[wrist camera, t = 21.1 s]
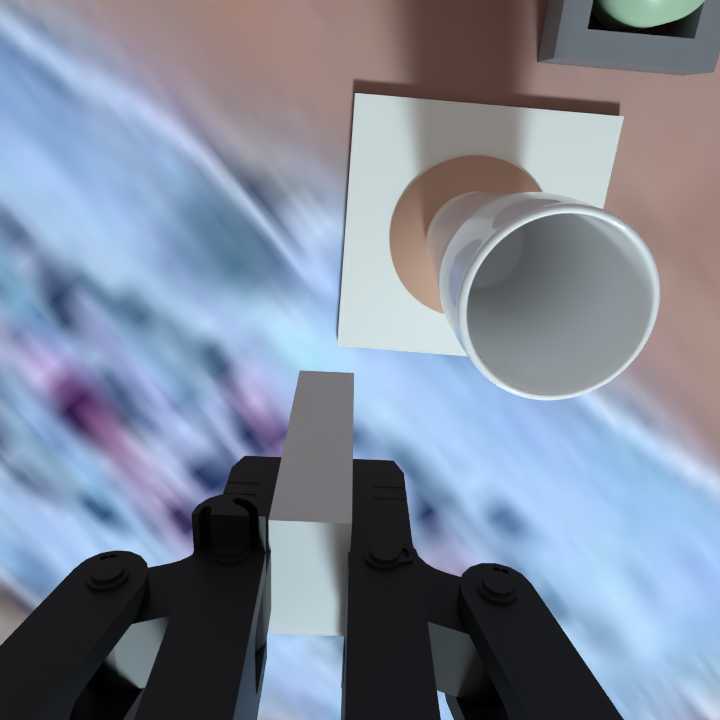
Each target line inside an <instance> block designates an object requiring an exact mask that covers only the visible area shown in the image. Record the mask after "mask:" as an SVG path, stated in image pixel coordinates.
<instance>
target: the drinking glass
mask: <svg viewBox="0 0 720 720" xmlns="http://www.w3.org/2000/svg"><path fill="white" fill-rule="evenodd" d="M426 248H427V254H428V258H429V261H430V263H431V265H432V267H433V270H434V274H435V279H436V284H437V288H438V293H439V298H440V302H441V305H442V308H443V311H444V314H445V316H446V319H447V321H448V324H449V326H450V328H451V330H452V332H453V333H454V335H455V337H456V339H457V341H458V342H459V344H460V345H461V347H462V348H463V350H464V351H465V353H466V354H467V355H468V357H469V358H470V359H471V361H472V362H473V363H474V365H475V366H476V367H477V369H478V370H479V371H480V372H481V373H482V374H483V375H484V376H485V377H486V378H487V379H488V380H490V381H491V382H492V383H494V384H495V385H497V386H498V387H500V388H502V389H503V390H506V391H508V392H510V393H512V394H515V395H518V396H521V397H525V398H530V399H536V400H560V399H567V398H572V397H576V396H579V395H582V394H585V393H588V392H590V391H593V390H595V389H597V388H599V387H601V386H603V385H604V384H606V383H608V382H609V381H611V380H612V379H613V378H615V377H616V376H618V375H619V374H620V373H621V372H622V371H623V370H624V369H626V368H627V367H628V366H629V364H630V363H631V362H632V361H633V360H634V359H635V358H636V356H637V355H638V354H639V353H640V351H641V350H642V348H643V347H644V345H645V343H646V342H647V340H648V338H649V336H650V334H651V332H652V329H653V327H654V324H655V321H656V318H657V313H658V309H659V302H660V280H659V274H658V270H657V266H656V263H655V260H654V257H653V255H652V253H651V251H650V249H649V247H648V245H647V244H646V242H645V241H644V240H643V238H642V237H641V236H640V234H639V233H638V232H637V231H636V230H635V229H634V228H633V227H632V226H631V225H629V224H628V223H627V222H626V221H624V220H623V219H621V218H620V217H618V216H616V215H615V214H613V213H611V212H609V211H606V210H604V209H601V208H598V207H596V206H594V205H591V204H589V203H586V202H583V201H580V200H577V199H574V198H570V197H567V196H562V195H557V194H552V193H544V192H506V193H491V192H486V191H471V192H466V193H463V194H460V195H458V196H455V197H454V198H452V199H450V200H449V201H447V202H446V203H445V204H444V205H443V206H442V207H441V208H440V209H439V210H438V211H437V213H436V214H435V216H434V217H433V219H432V221H431V223H430V226H429V229H428V232H427V239H426Z"/></svg>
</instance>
